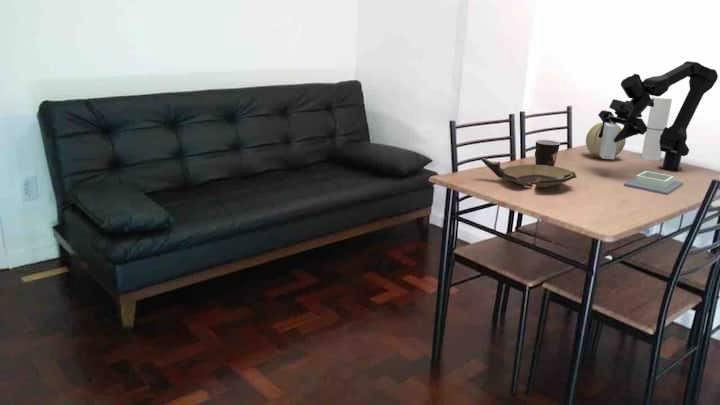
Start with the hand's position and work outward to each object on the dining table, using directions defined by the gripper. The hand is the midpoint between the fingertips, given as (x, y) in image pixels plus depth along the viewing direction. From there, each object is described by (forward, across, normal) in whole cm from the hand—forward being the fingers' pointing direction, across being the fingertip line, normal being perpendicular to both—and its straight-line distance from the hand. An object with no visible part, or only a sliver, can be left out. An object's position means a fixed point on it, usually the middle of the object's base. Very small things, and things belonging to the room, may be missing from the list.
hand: (606, 139), depth 216 cm
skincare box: (+4, 0, +6) cm, 7 cm away
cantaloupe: (-5, -21, +24) cm, 33 cm away
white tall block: (-19, -15, +38) cm, 46 cm away
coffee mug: (+21, -13, -2) cm, 25 cm away
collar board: (+3, +16, +16) cm, 22 cm away
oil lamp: (+33, +2, -14) cm, 36 cm away
